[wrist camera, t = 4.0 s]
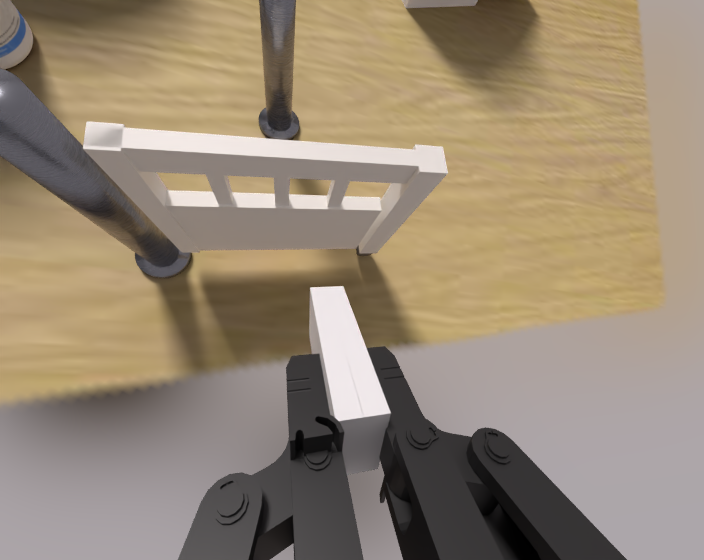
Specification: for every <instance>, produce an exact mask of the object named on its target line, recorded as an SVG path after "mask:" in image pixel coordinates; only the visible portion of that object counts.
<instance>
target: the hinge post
mask: <svg viewBox="0 0 704 560" xmlns="http://www.w3.org/2000/svg"><path fill="white" fill-rule="evenodd" d="M0 156H1V157H3V158H4V159H5V160H7V161H8V162H10V163H11V164H12V165H14V166H15V167H17V168H18V169H19V170H21V171H22V172H24V173H25V174H26V175H28V176H29V177H30V178H32V179H33V180H35V181H36V182H37V183H39V184H40V185H42V186H43V187H44V188H46V189H47V190H49V191H50V192H51V193H53V194H54V195H56V196H57V197H58V198H60V199H61V200H63V201H64V202H65V203H67V204H68V205H70V206H71V207H72V208H74V209H75V210H77V211H78V212H79V213H81V214H82V215H84V216H85V217H86V218H88V219H89V220H91V221H92V222H93V223H95V224H96V225H97V226H99V227H100V228H102V229H103V230H104V231H106V232H107V233H109V234H110V235H111V236H113V237H114V238H116V239H117V240H118V241H120V242H121V243H123V244H124V245H125V246H127V247H128V248H130V249H131V250H132V251H134V252H135V259H136V263H137V265H138V266H139V268H140V269H141V270H142V271H144V272H145V273H147V274H148V275H150V276H153V277H156V278H170V277H173V276H176V275H178V274H179V273H181V272H182V271H183V270H184V269H185V268H186V267H187V266H188V264H189V262H190V259H191V252H186V253H182V252H181V251H180V250H179V249H178V248H177V247H176V246H175V245H174V244H173V243H172V242H171V241H170V240H169V239H168V238H167V236H166V235H165V234H164V233H163V232H162V231H161V230H160V229H159V228H158V227H157V226H156V225H155V224H154V223H153V222H152V221H151V220H150V219H149V218H148V217H147V216H146V214H145V213H144V212H143V211H142V210H141V209H140V208H139V207H138V206H137V205H136V204H135V203H134V202H133V201H132V200H131V199H130V198H129V197H128V196H127V195H126V194H125V192H124V191H123V190H122V189H121V188H120V187H119V186H118V185H117V184H116V183H115V182H114V181H113V180H112V179H111V178H110V177H109V176H108V175H107V174H106V173H105V172H104V170H103V169H102V168H101V167H100V166H99V165H98V164H97V163H96V162H95V161H94V160H93V159H92V158H91V157H90V156H89V155H88V154H87V153H86V152H85V151H84V150H83V146H82V145H81V144H80V142H79V141H78V140H77V139H76V138H75V137H74V136H73V135H72V134H71V133H70V132H69V131H68V130H67V129H66V128H65V127H64V125H63V124H62V123H61V122H60V121H59V120H58V119H57V118H56V117H55V116H54V115H53V114H52V113H51V112H50V111H49V110H48V109H47V107H46V106H45V105H44V104H43V103H42V102H41V101H40V100H39V99H38V98H37V97H36V96H35V95H34V94H33V93H32V92H31V90H30V89H29V88H28V87H27V86H26V85H25V84H24V83H23V82H22V81H21V80H20V79H19V78H18V77H17V76H15V75H14V74H12V73H11V72H8V71H6V70H4V69H1V68H0Z"/></svg>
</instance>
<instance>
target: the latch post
mask: <svg viewBox="0 0 704 560" xmlns="http://www.w3.org/2000/svg"><path fill="white" fill-rule="evenodd" d="M259 5H260V20H261V35H262V51H263V66H264V81H265V96H266V108H265V109H263V110H262V111H261V113H260V115H259V126H260V129H261V131H262V132H263V134H264V135H265V136H267V137H268V138H270V139H280V140H291V139H293V138H294V137H295V136H296V135H297V133H298V131H299V120H298V117H297V116H296V114H295V113H294V112H293V111H292V90H293V63H294V36H295V9H296V0H259Z"/></svg>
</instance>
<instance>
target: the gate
mask: <svg viewBox="0 0 704 560" xmlns="http://www.w3.org/2000/svg"><path fill="white" fill-rule="evenodd" d="M83 150H84V151H85V152H86V153H87V154H88V155H89V156H90V157H91V158H92V159H93V160H94V161H95V162H96V163H97V164H98V165H99V166H100V167H101V168H102V169H103V170H104V172H105V173H106V174H107V175H108V176H109V177H110V178H111V179H112V180H113V181H114V182H115V183H116V184H117V185H118V186H119V187H120V188H121V189H122V190H123V191H124V192H125V194H126V195H127V196H128V197H129V198H130V199H131V200H132V201H133V202H134V203H135V204H136V205H137V206H138V207H139V208H140V209H141V210H142V211H143V212H144V213H145V214H146V216H147V217H148V218H149V219H150V220H151V221H152V222H153V223H154V224H155V225H156V226H157V227H158V228H159V229H160V230H161V231H162V232H163V233H164V234H165V235H166V236H167V238H168V239H169V240H170V241H171V242H172V243H173V244H174V245H175V246H176V247H177V248H178V249H179V250H180V251H181V252H182V253H186V252H200V250H284V249H356V251H357V255H359V256H367V255H371V254H373V253H377V252H378V251H379V250H380V249H381V248H382V246H383V245H384V244H385V243H386V242H387V241H388V240H389V239H390V237H391V236H392V235H393V234H394V233H395V232H396V231H397V230H398V228H399V227H400V226H401V225H402V224H403V223H404V222H405V221H406V220H407V218H408V217H409V216H410V215H411V214H412V213H413V212H414V211H415V209H416V208H417V207H418V206H419V205H420V204H421V203H422V202H423V201H424V199H425V198H426V197H427V196H428V195H429V194H430V193H431V192H432V190H433V189H434V188H435V187H436V186H437V185H438V184H439V183H440V182H441V180H442V179H443V178H444V177H445V176H446V175H447V174H448V171H447V166H446V161H445V156H444V150H443V147H439V146H427V145H415V146H414V147H413V149H412V150H411V149H398V148H385V147H372V146H359V145H346V144H333V143H319V142H306V141H293V140H280V139H267V138H254V137H241V136H227V135H214V134H201V133H188V132H175V131H162V130H149V129H136V128H126V127H125V126H124V124H114V123H101V122H88V121H87V123H86V130H85V137H84V144H83ZM156 172H163V173H185V174H206V176H207V178H208V181H209V183H210V186H211V188H212V190H213V192H201V191H171V190H168V189H167V187H166V186H165V184H164V183H163V182H162V180H161V179H160V177H159V176H158V174H157V173H156ZM227 175H228V176H250V177H272V178H274V190H275V194H262V193H232V190H231V187H230V183H229V180H228V177H227ZM290 178H294V179H316V180H332V181H331V184H330V188H329V191H328V195H327V196H322V195H292V194H289V186H290ZM350 181H359V182H381V183H391V184H390V186H389V188H388V189H387V191H386V192H385V194H384V196H383V197H382V199H381V200H380V197H353V196H344V195H345V192H346V190H347V187H348V184H349V182H350Z"/></svg>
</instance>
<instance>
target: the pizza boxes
mask: <svg viewBox="0 0 704 560" xmlns="http://www.w3.org/2000/svg"><path fill="white" fill-rule="evenodd" d="M477 1H478V0H402V2H403V4H404V6H405V8H426V7H453V6H475V5H476V3H477Z"/></svg>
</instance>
